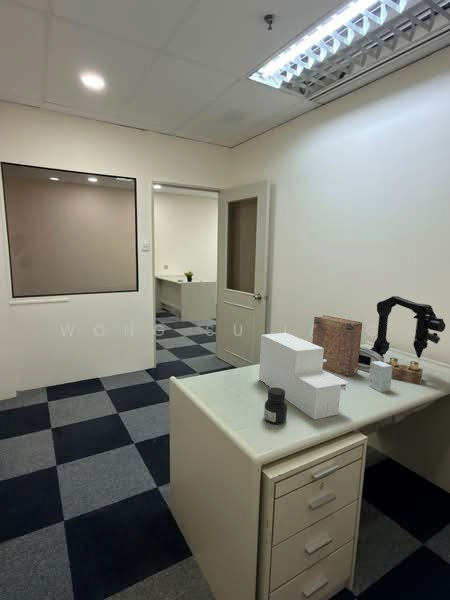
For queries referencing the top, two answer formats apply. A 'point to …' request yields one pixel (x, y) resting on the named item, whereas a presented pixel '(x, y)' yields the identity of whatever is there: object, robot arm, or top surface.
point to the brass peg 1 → (393, 362)
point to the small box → (380, 376)
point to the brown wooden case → (338, 343)
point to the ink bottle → (275, 406)
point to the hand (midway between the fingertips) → (419, 355)
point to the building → (300, 374)
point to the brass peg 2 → (414, 366)
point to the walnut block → (406, 374)
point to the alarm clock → (367, 358)
